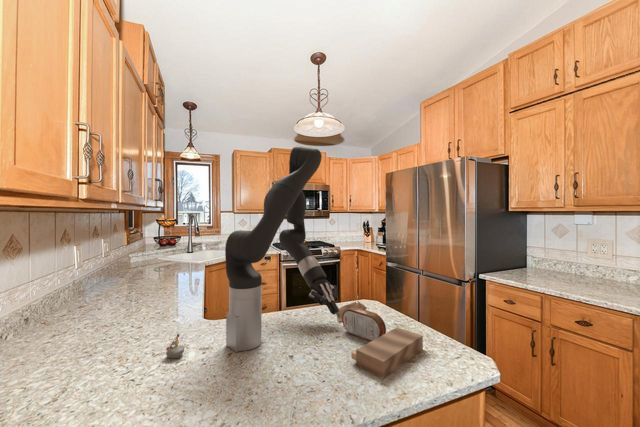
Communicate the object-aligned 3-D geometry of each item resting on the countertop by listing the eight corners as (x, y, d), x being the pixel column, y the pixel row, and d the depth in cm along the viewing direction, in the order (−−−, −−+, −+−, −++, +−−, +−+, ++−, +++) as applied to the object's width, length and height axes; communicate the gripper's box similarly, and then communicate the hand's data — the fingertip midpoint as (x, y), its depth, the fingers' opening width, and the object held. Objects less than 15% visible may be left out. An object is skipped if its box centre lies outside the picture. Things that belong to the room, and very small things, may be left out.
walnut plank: (383, 379, 64) (383, 361, 64) (351, 363, 71) (351, 347, 71) (422, 349, 78) (422, 335, 78) (392, 338, 85) (392, 325, 85)
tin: (386, 343, 82) (386, 314, 82) (381, 347, 80) (381, 317, 80) (346, 328, 92) (346, 303, 92) (340, 331, 90) (340, 305, 90)
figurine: (184, 358, 73) (184, 334, 74) (165, 362, 71) (164, 338, 72) (184, 352, 77) (184, 330, 78) (166, 356, 75) (166, 333, 76)
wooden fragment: (354, 326, 95) (354, 323, 95) (325, 321, 100) (325, 318, 100) (372, 304, 119) (372, 301, 119) (348, 301, 123) (348, 298, 123)
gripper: (302, 267, 96) (328, 312, 87) (329, 262, 105) (354, 302, 96) (293, 280, 100) (316, 324, 91) (319, 274, 109) (343, 314, 100)
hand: (336, 313), depth 93 cm, fingers closed
